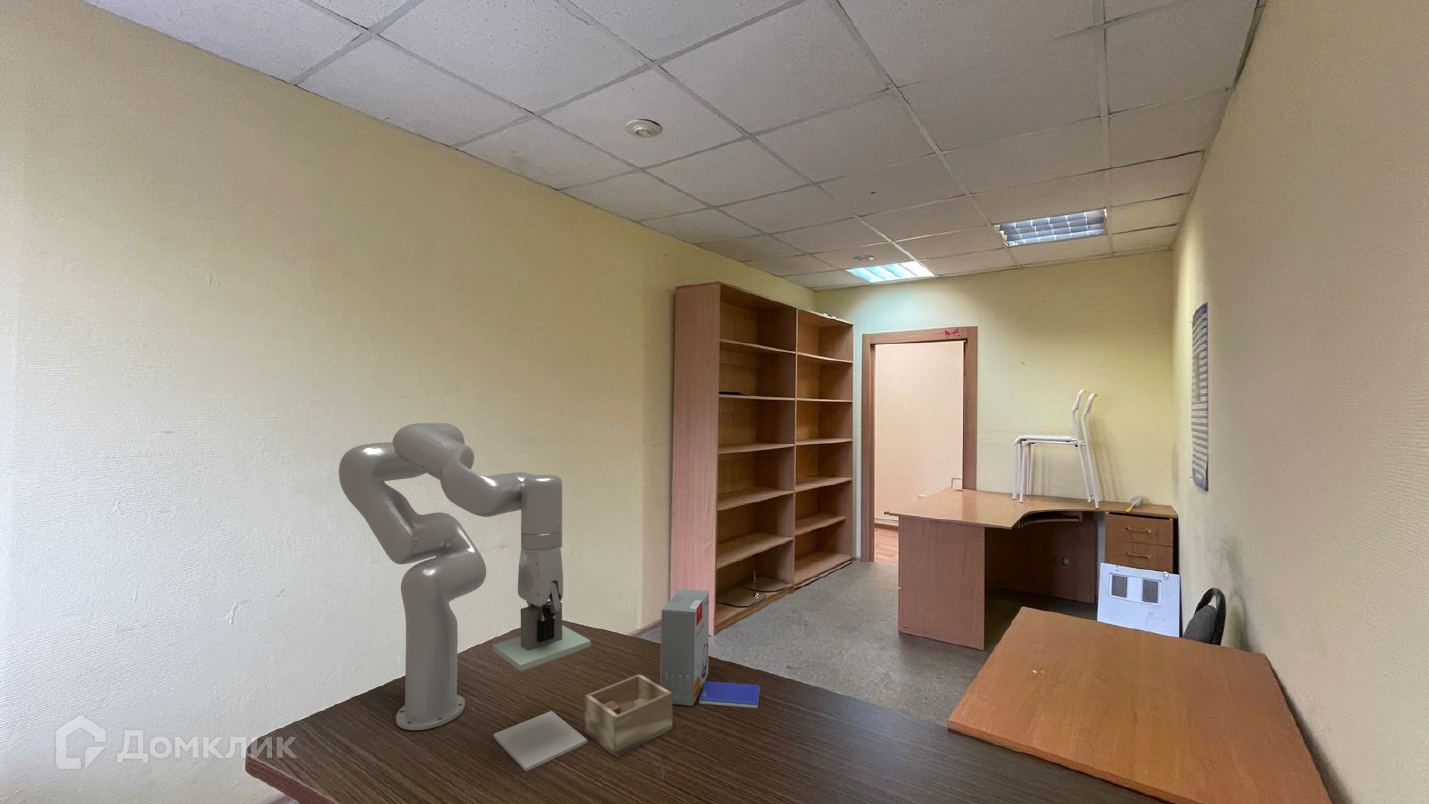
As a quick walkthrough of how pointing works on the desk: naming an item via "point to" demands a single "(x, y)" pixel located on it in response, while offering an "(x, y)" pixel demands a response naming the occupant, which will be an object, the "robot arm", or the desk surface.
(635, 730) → the crate
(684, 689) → the hard drive box
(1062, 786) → the desk surface
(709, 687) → the hard drive
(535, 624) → the lid
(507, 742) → the mat
